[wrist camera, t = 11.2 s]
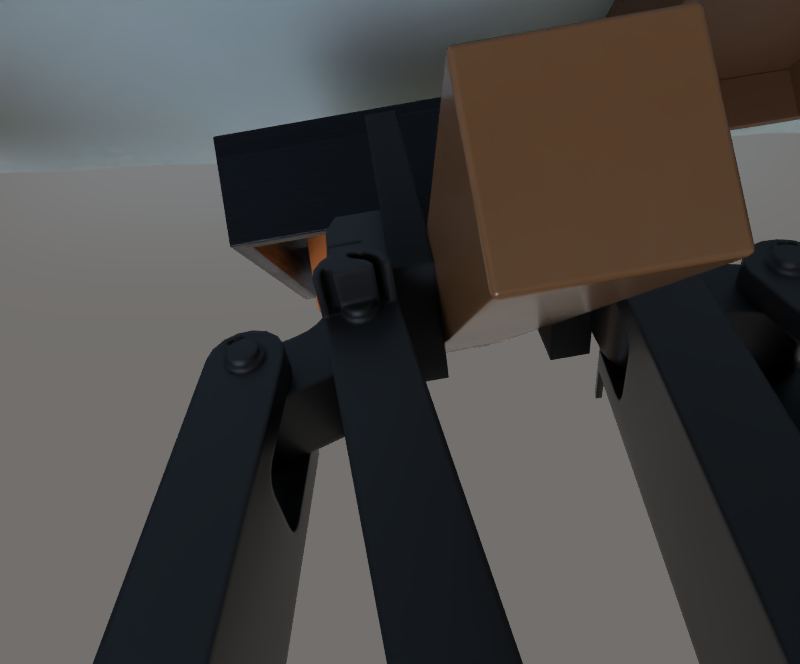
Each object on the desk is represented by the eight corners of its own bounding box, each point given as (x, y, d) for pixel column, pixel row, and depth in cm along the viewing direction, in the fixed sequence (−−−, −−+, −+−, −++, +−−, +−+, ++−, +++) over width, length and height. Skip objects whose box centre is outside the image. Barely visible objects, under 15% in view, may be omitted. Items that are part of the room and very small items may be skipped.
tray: (681, -122, 21) (701, -23, 21) (1103, -191, 21) (1127, -93, 21) (559, 101, 38) (569, 156, 38) (790, 63, 38) (802, 119, 38)
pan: (-346, -529, 5) (-250, 428, 5) (1233, -818, 5) (1518, 122, 5) (294, 234, 34) (318, 380, 33) (536, 192, 34) (563, 338, 33)
